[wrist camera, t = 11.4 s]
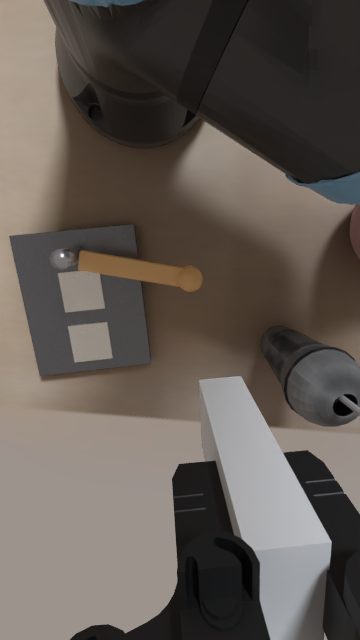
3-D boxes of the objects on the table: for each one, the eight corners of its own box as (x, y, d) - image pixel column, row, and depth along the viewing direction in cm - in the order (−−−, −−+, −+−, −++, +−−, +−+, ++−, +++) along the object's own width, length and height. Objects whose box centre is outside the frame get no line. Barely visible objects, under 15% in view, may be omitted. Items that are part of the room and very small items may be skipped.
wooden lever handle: (80, 271, 34) (77, 273, 32) (83, 246, 34) (79, 247, 32) (197, 290, 36) (200, 293, 34) (202, 267, 35) (204, 269, 33)
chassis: (13, 235, 37) (-22, 238, 30) (134, 224, 38) (129, 223, 30) (43, 371, 41) (19, 404, 34) (150, 359, 42) (150, 388, 35)
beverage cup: (261, 379, 44) (347, 498, 25) (240, 330, 42) (316, 418, 23) (314, 356, 44) (442, 458, 24) (296, 305, 42) (419, 373, 22)
